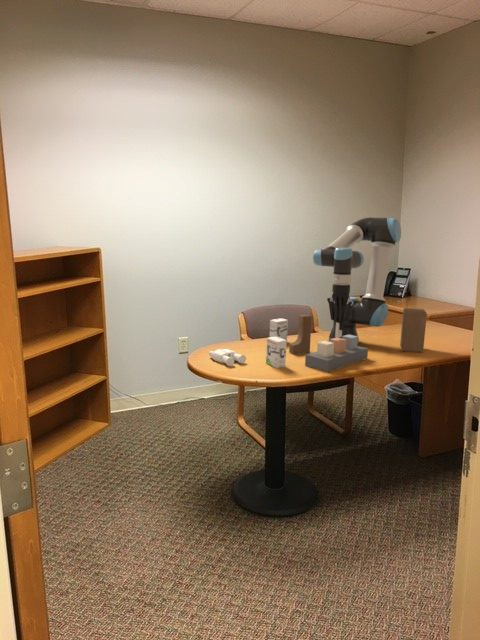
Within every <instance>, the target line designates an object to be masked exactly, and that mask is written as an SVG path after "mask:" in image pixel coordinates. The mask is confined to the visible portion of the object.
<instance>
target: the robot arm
mask: <svg viewBox="0 0 480 640" xmlns="http://www.w3.org/2000/svg"><path fill="white" fill-rule="evenodd" d="M401 237H402V227H401V223H400V221H399V220H398V219H397V218H394V217H372V216H371V217H364V218H361V219H358V220H357V221H353V223H351V224H349V225H348V226H347V227H346V229H345V232H343V233H342V234H341V235H340V236H339V237H337V238H336V239H335V240H333V241H332V242H331V243H330V244H328V245H327V246H326V247H325V248H324V249H322V248H319V249H316V250H314V252H313V253H312V254H313V255H312V259H313V260H312V261H313V264H314V265H315V266H318V267H319V266H321V267H332V268H333V273H332V274H333V275H332V288H331V289H332V290H331V292H332V294H331V296H330V297H328V298H326V301H327V302H328V308H329V315H330V320H331V321H332V328H331V330H330V333H329V336H328V342H330V339H333V338H342V336H345V335H354V336H358V343H357V345H358V344H359V340H360V339H359V335H358V331H357V325H362V326H369V327H377V328H378V327H381V326H383V325H384V324H385V322H386V320H387V317H388V314H389V305H388V304H387V303H386V299H385V298H384V294H385V287H386V281H387V276H388V269H389V265H390V257H391V251H392V249H394V248H395V246H396V243H399V242H400V241H401ZM363 241H364V242H365V241H366V242H367V241H369V242H370V245H371V246H372V247H373V248H372V252H371V254H372V255H371V259H370V260H371V261H370V265H369V271H368V278H367V282H366V283H367V284H366V290H365V294H364V295H363V296H362V297H361V300H359V298H358V297H357V296H350V293H351V285H350V284H351V281H352V279H351V278H352V269H357V268H360V267H361V266H363V264H364V262H365V256H364V255H363V253H362V252H360V251H357V250H353V249H352V247H353V246H354V245H355V244H359V243H360V242H363Z"/></svg>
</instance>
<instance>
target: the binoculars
mask: <svg viewBox="0 0 480 640" xmlns="http://www.w3.org/2000/svg"><path fill="white" fill-rule="evenodd" d="M208 356H209V357H211V358H212V360H214V361H216V362H218V363H221V364H226V365H227V366H228V367H232V366H233V365H234V363H235V361H236V362H237V363H239V364H241V365H243V364H245V363H246V360H247V356H246V355H245V354H240V353H238V352H236V351H234V350H231V349H228V348H224V349H223V348H218V349H216V350H214V351H212V350H211V351H209V352H208Z"/></svg>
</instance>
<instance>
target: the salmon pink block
mask: <svg viewBox="0 0 480 640" xmlns="http://www.w3.org/2000/svg"><path fill="white" fill-rule="evenodd" d="M330 342H332V343H334V353H337V354H340V353H344V352H346V339H342V338H333V339H330Z"/></svg>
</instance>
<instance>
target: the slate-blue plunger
mask: <svg viewBox="0 0 480 640" xmlns="http://www.w3.org/2000/svg"><path fill="white" fill-rule="evenodd" d="M358 338H359V335H358V336H354V335H345V336H342V339H346V349H347V350H354V349H357V346H358V344H359V341H358ZM357 343H358V344H357Z"/></svg>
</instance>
